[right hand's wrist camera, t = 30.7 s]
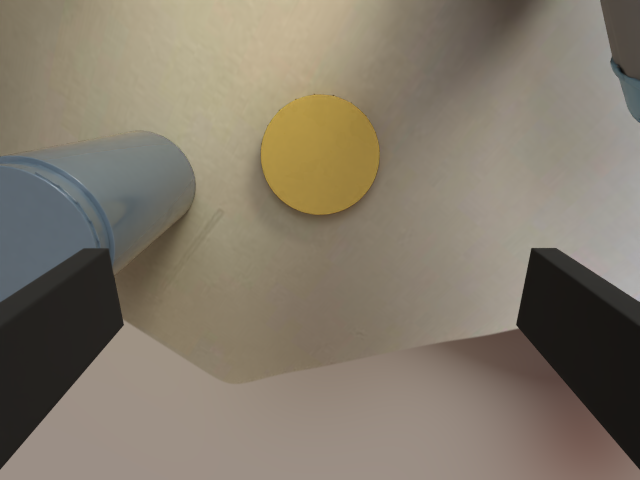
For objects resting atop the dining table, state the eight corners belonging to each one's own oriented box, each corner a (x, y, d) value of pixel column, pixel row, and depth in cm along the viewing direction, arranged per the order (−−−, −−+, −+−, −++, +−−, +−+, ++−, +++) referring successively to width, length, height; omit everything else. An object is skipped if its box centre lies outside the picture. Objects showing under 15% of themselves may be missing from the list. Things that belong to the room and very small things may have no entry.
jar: (168, 243, 44) (63, 345, 26) (81, 192, 42) (-96, 265, 24) (212, 168, 41) (130, 224, 23) (122, 109, 39) (-45, 122, 21)
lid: (363, 80, 38) (365, 79, 36) (387, 195, 42) (390, 199, 40) (248, 112, 39) (244, 112, 37) (281, 221, 43) (279, 226, 41)
